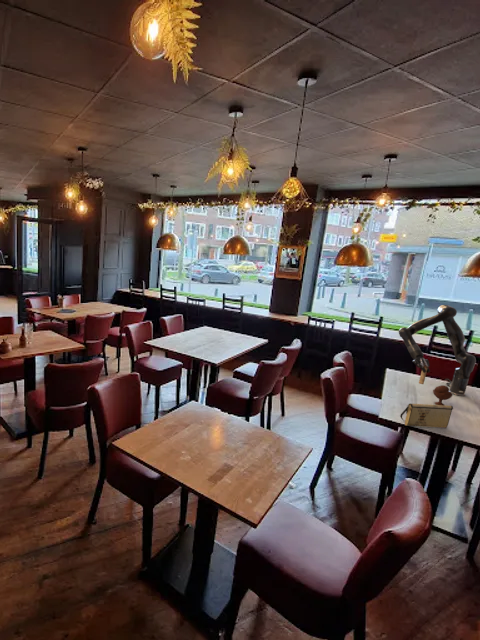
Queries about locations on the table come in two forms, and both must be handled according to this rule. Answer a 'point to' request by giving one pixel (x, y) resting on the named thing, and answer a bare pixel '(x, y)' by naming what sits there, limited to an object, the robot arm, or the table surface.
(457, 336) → the robot arm
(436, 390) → the ice cream bowl
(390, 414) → the table surface
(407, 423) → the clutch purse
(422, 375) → the stirring stick
